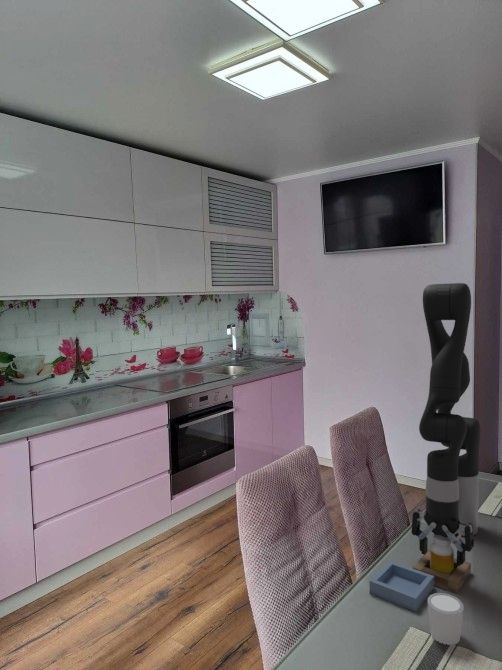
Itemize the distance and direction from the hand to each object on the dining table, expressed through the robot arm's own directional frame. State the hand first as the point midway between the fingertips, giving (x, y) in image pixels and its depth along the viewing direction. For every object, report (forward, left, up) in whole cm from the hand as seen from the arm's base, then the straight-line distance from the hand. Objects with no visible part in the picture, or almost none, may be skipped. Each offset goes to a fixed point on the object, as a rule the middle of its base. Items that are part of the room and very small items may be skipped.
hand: (441, 558), depth 121 cm
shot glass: (+21, +8, -5) cm, 23 cm away
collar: (0, 0, -4) cm, 4 cm away
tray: (+12, -5, -4) cm, 14 cm away
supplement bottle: (0, 0, -5) cm, 5 cm away
